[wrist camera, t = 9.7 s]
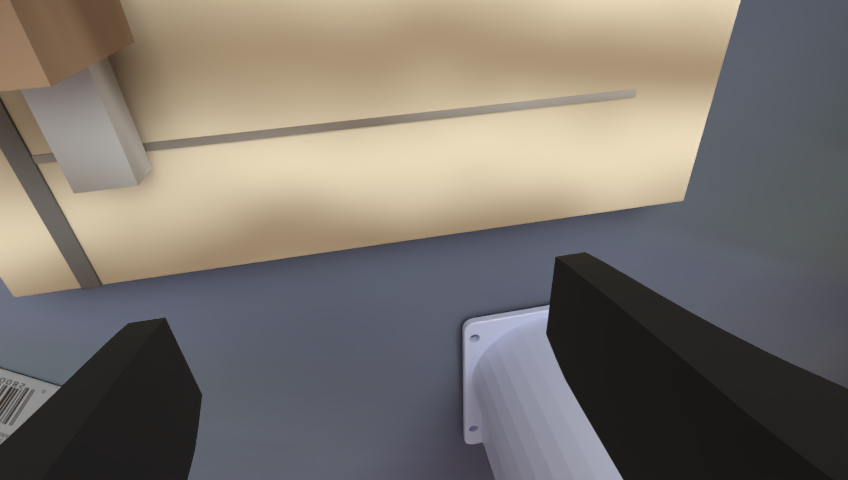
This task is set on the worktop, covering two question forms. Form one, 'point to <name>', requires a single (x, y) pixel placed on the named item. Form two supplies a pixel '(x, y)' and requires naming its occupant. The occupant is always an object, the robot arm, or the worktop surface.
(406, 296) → the worktop surface
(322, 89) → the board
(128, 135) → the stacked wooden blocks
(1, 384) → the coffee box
